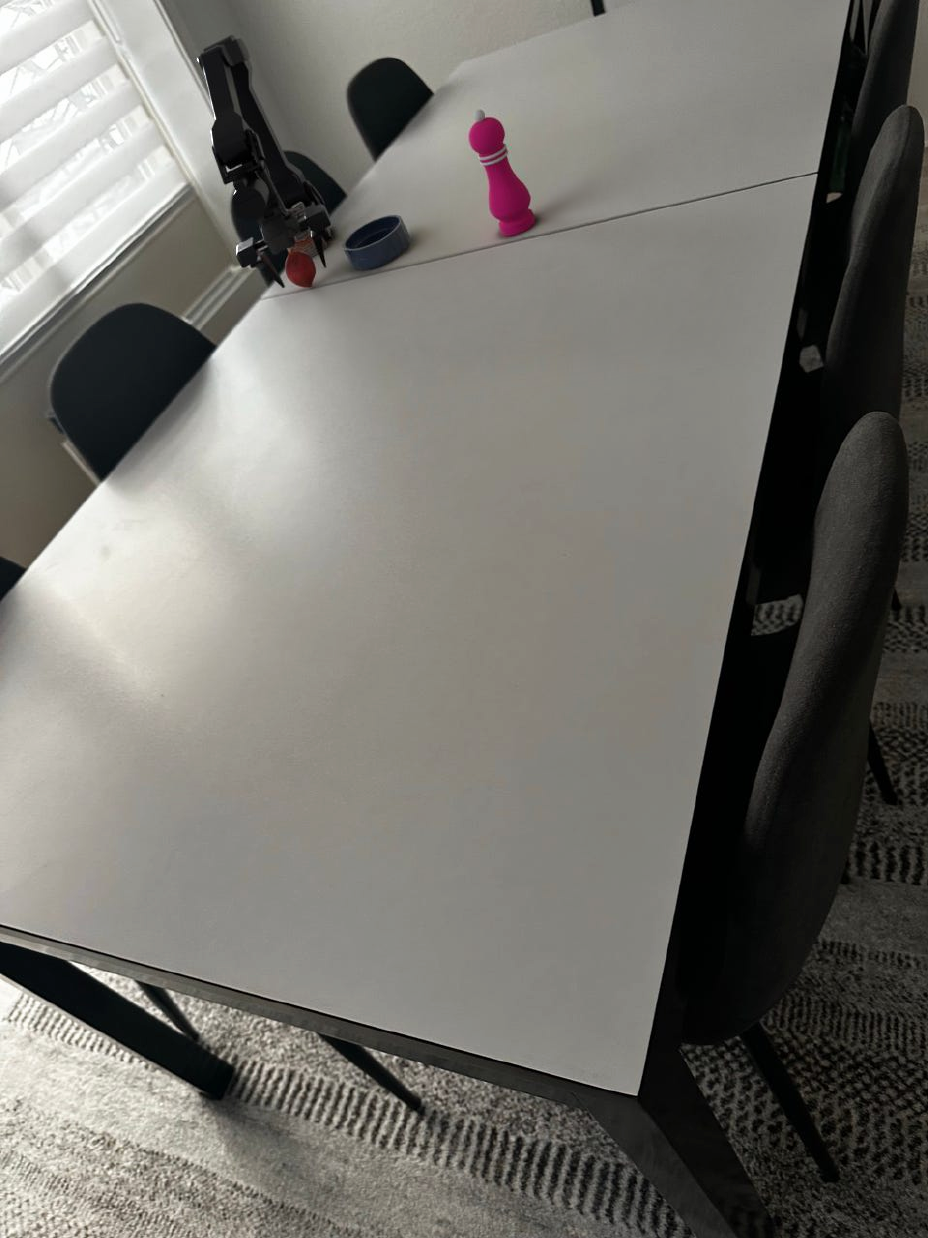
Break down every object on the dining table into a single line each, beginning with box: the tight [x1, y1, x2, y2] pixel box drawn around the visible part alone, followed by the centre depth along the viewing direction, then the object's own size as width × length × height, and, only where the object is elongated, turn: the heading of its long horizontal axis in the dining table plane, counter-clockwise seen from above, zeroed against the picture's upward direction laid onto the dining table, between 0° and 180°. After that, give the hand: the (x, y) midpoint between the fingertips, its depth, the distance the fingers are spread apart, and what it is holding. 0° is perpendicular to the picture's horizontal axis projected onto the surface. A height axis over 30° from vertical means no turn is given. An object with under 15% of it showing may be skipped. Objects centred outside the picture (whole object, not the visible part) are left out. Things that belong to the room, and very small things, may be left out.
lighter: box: [286, 202, 328, 258], centre depth 190 cm, size 8×3×10 cm, turn 118°
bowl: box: [341, 214, 412, 271], centre depth 177 cm, size 12×12×4 cm
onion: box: [284, 248, 317, 288], centre depth 178 cm, size 6×6×8 cm
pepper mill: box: [468, 109, 536, 237], centre depth 156 cm, size 7×7×20 cm
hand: (304, 276), depth 179 cm, fingers open, 9 cm apart
